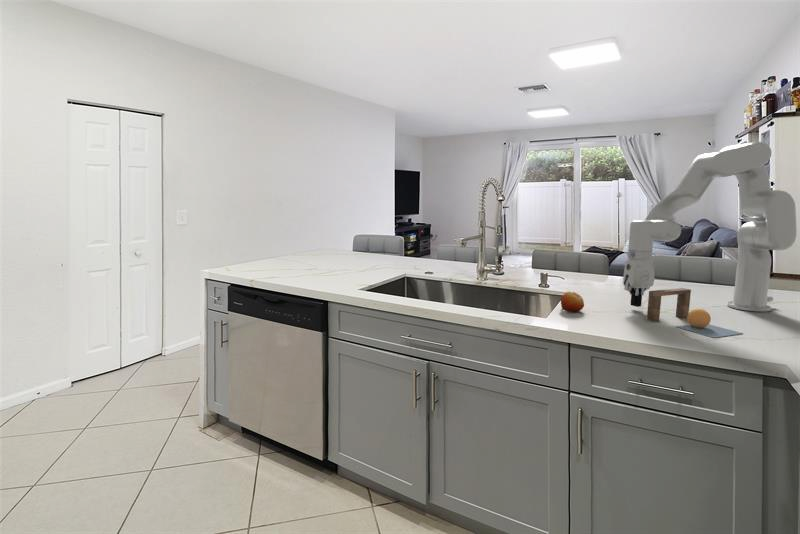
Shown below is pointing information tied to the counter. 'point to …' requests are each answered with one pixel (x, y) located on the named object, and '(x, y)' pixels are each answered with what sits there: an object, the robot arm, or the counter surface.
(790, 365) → the counter surface
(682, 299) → the bridge
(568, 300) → the fruit
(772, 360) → the counter surface
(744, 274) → the robot arm
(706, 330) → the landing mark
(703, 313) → the ball
